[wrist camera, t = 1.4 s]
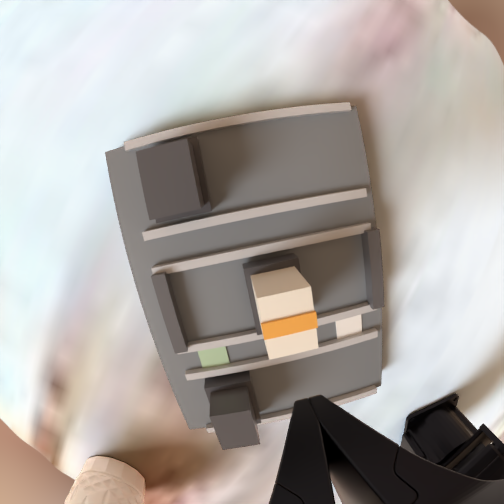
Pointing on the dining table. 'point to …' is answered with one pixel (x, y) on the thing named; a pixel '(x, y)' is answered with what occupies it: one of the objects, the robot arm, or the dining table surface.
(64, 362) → the dining table surface
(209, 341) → the breaker panel
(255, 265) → the breaker
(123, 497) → the white cup
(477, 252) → the dining table surface
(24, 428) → the dining table surface
